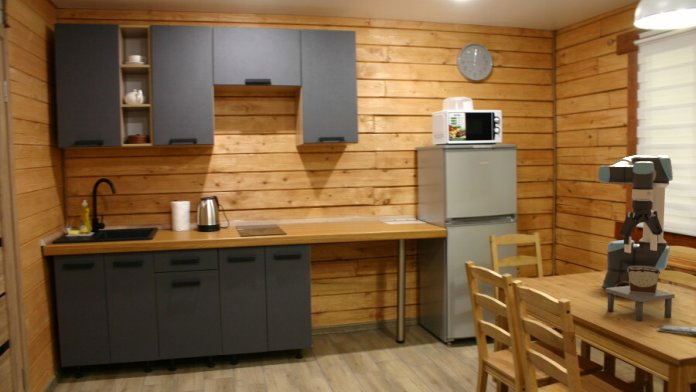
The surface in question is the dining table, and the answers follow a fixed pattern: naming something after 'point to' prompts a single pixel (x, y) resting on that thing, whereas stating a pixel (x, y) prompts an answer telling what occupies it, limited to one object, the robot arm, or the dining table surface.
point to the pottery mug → (622, 285)
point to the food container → (643, 279)
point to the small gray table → (639, 299)
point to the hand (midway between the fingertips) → (640, 251)
